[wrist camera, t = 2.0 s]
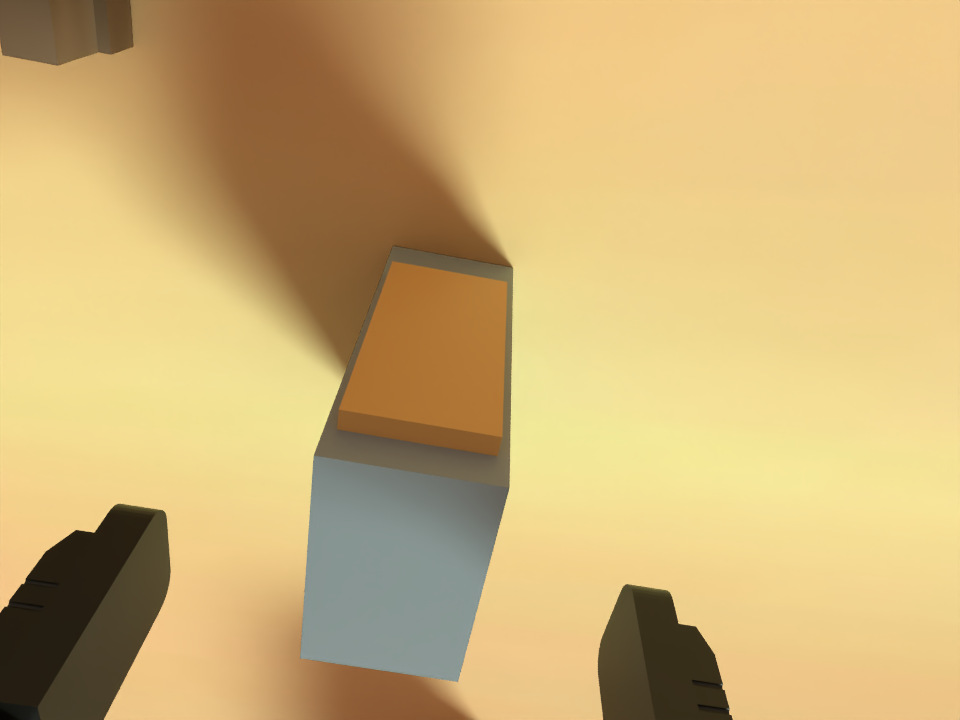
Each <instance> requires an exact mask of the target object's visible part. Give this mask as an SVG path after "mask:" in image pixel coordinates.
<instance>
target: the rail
mask: <svg viewBox="0 0 960 720" xmlns="http://www.w3.org/2000/svg"><path fill="white" fill-rule="evenodd" d="M0 42H1V48H2V54H3V55H5V56H10V57H16V58H21V59H26V60H31V61H37V62H42V63H47V64H52V65H61V64H64V63H67V62H70V61H73V60H76V59H79V58H82V57H85V56H88V55H91V54H94V53H97V52H100V53H106V54H114V53H117V52H119V51H122V50H125V49H128V48H131V47H133V35H132V22H131V9H130V0H0Z"/></svg>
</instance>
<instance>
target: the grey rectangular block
mask: <svg viewBox="0 0 960 720" xmlns="http://www.w3.org/2000/svg"><path fill="white" fill-rule="evenodd" d="M512 302H513V268H512V267H507V266H501V265H496V264H490V263H485V262H479V261H474V260H468V259H463V258H457V257H452V256H446V255H441V254H435V253H430V252H424V251H419V250H413V249H408V248H402V247H397V246H393V247H392V250H391V252H390V255H389V258H388V260H387V263H386V266H385V268H384V271H383V274H382V276H381V279H380V282H379V284H378V287H377V289H376V292H375V295H374V297H373V300H372V303H371V305H370V308H369V311H368V313H367V316H366V319H365V321H364V324H363V327H362V329H361V332H360V335H359V337H358V340H357V342H356V345H355V348H354V350H353V353H352V356H351V358H350V361H349V364H348V366H347V369H346V372H345V374H344V377H343V380H342V382H341V385H340V388H339V390H338V393H337V395H336V398H335V401H334V403H333V406H332V409H331V411H330V414H329V417H328V419H327V422H326V425H325V427H324V430H323V433H322V435H321V438H320V441H319V443H318V446H317V448H316V451H315V454H314V460H313V475H312V490H311V505H310V520H309V535H308V550H307V564H306V579H305V594H304V609H303V624H302V639H301V654H300V658H302V659H308V660H315V661H322V662H329V663H335V664H342V665H349V666H355V667H362V668H369V669H375V670H382V671H389V672H395V673H402V674H409V675H415V676H422V677H429V678H435V679H442V680H449V681H456V682H458V679H459V676H460V672H461V668H462V664H463V661H464V657H465V653H466V649H467V646H468V642H469V638H470V634H471V631H472V627H473V623H474V619H475V615H476V612H477V608H478V604H479V600H480V597H481V593H482V589H483V585H484V582H485V578H486V574H487V570H488V566H489V563H490V559H491V555H492V551H493V548H494V544H495V540H496V536H497V533H498V529H499V525H500V521H501V518H502V514H503V510H504V506H505V502H506V499H507V495H508V491H509V479H510V420H511V361H512Z"/></svg>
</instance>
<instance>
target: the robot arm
mask: <svg viewBox="0 0 960 720" xmlns="http://www.w3.org/2000/svg"><path fill="white" fill-rule="evenodd" d="M169 581H170V557H169V543H168V529H167V518H166V513H165V512H164V511H163V510H157V509H150V508H144V507H137V506H131V505H125V504H117V505H115V506H114V507H113V508H112V509H111V510H110V511H109V513H108V514H107V515H106V517H105V518H104V520H103V521H102V523H101V524H100V526H99V527H98V529H97V530H96V531H95V533H92V532H85V531H79V530H76V531H74V532H73V533H71V534H70V535H69V536H67V537H66V538H64V539H63V540H62V541H60V542H59V543H57V544H56V545H55V546H53V547H52V548H50V549H49V550H48V551H46V552H45V554H44V555H43V556H42V558H41V559H40V560H39V562H38V563H37V564H36V566H35V567H34V568H33V570H32V571H31V572H30V574H29V575H28V576H27V578H26V581H25V583H24V584H21V586H20V587H19V588H18V590H17V591H16V592H15V594H14V595H13V596H12V598H11V599H10V600H9V605H8V606H7V607H4V609H3V610H2V611H1V613H0V720H104V718H105V716H106V714H107V712H108V710H109V708H110V706H111V704H112V702H113V700H114V699H115V697H116V695H117V693H118V691H119V689H120V687H121V685H122V683H123V681H124V679H125V677H126V675H127V673H128V671H129V669H130V668H131V666H132V664H133V662H134V660H135V658H136V656H137V654H138V652H139V650H140V648H141V646H142V644H143V642H144V640H145V638H146V637H147V635H148V633H149V631H150V629H151V627H152V625H153V623H154V621H155V619H156V617H157V615H158V613H159V611H160V609H161V607H162V605H163V603H164V600H165V597H166V594H167V590H168V586H169ZM598 677H599V686H600V694H601V703H602V712H603V720H732V716H731V715H729V705H728V701H727V698H726V694H725V690H723V689H722V685H723V683H722V680H721V676H720V672H719V669H718V665H717V661H716V658H715V654H714V653H713V651H712V650H711V648H710V647H709V645H708V644H707V642H706V641H705V639H704V638H703V637H702V635H701V634H700V632H699V631H698V629H697V628H696V627H695V626H688V625H682V624H678V620H677V615H676V611H675V607H674V603H673V599H672V596H671V594H670V593H669V592H668V591H666V590H660V589H654V588H648V587H641V586H635V585H628V584H626V585H625V586H624V587H623V588H622V590H621V592H620V595H619V597H618V600H617V602H616V605H615V607H614V610H613V612H612V614H611V617H610V619H609V622H608V624H607V627H606V629H605V632H604V634H603V637H602V639H601V643H600V648H599V656H598Z"/></svg>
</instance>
